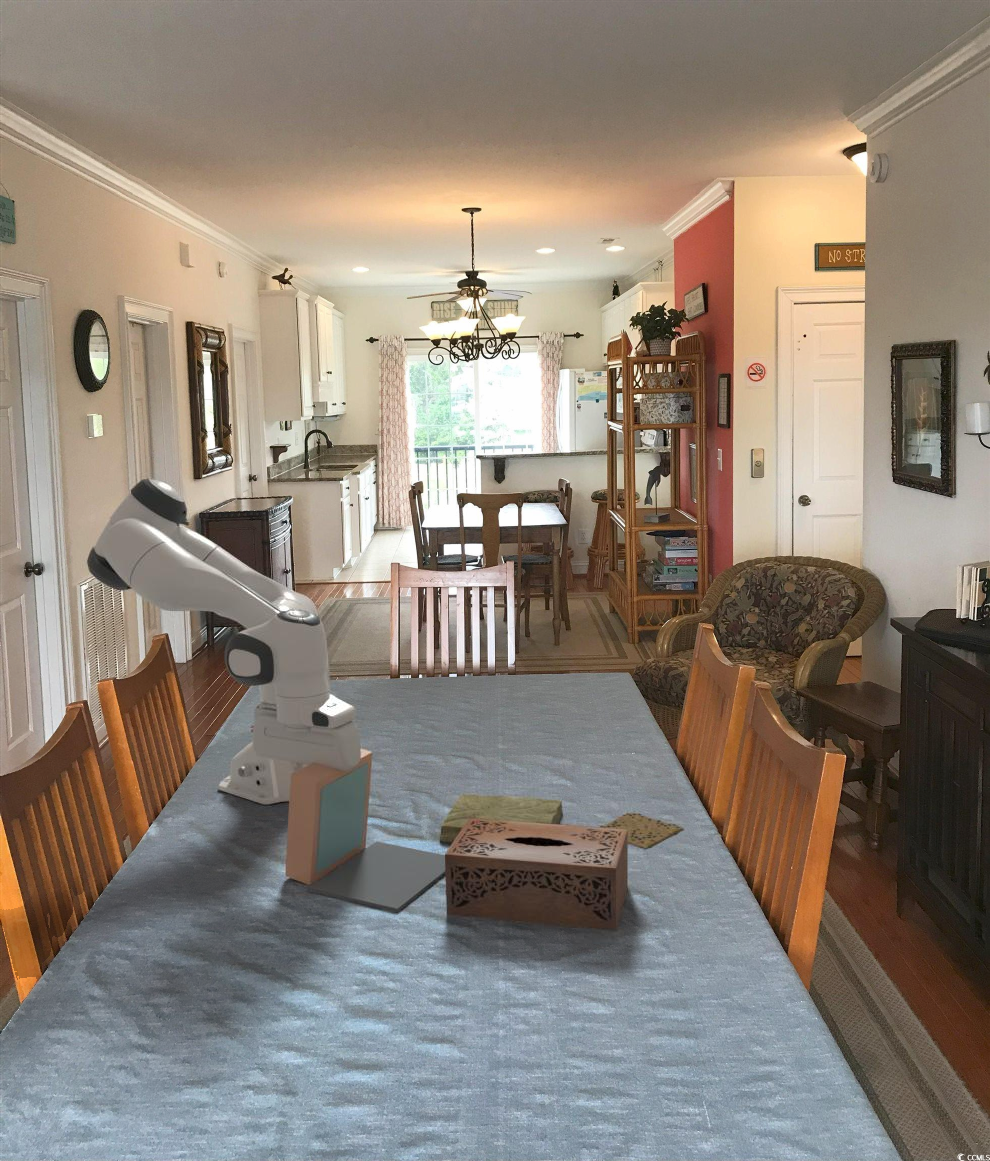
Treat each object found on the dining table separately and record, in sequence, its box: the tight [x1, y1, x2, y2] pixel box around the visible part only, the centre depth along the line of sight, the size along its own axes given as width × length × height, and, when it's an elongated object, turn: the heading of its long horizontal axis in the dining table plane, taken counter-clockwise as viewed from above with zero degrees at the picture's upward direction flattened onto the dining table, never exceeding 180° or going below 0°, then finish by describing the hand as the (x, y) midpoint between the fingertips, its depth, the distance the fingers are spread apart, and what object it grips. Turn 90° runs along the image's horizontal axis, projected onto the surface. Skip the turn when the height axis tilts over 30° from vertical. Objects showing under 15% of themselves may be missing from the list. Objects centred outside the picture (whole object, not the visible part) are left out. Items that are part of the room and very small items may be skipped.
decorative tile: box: [439, 793, 564, 843], centre depth 198 cm, size 19×20×4 cm
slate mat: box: [307, 840, 446, 913], centre depth 179 cm, size 17×20×1 cm
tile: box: [284, 748, 373, 886], centre depth 182 cm, size 5×16×18 cm, turn 153°
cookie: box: [599, 812, 685, 850], centre depth 195 cm, size 12×12×1 cm
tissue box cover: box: [444, 818, 629, 932], centre depth 168 cm, size 26×14×10 cm, turn 76°
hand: (307, 787), depth 183 cm, fingers closed
